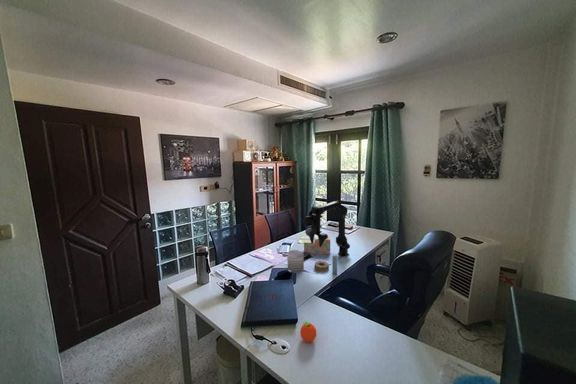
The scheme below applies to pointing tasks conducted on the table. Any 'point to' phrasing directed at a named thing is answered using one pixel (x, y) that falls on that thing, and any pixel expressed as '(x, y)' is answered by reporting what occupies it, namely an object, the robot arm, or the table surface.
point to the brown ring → (321, 266)
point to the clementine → (308, 332)
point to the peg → (334, 265)
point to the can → (295, 261)
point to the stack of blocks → (317, 246)
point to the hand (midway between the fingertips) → (316, 245)
